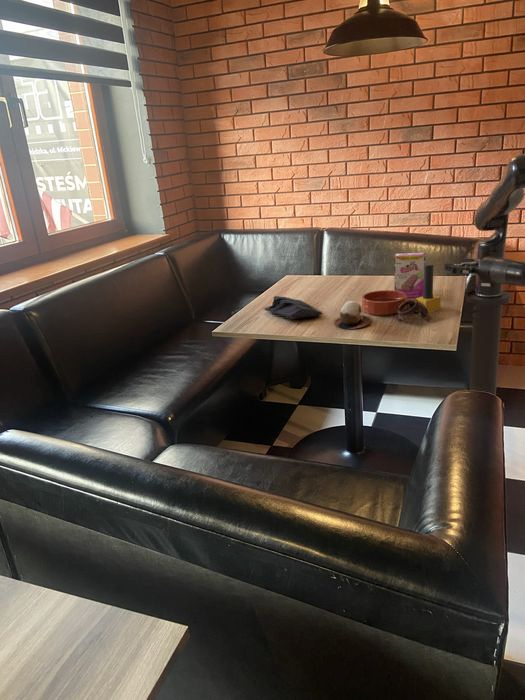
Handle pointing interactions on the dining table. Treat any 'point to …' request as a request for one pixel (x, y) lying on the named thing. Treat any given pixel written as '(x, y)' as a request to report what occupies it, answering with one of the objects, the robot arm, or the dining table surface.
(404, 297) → the terracotta ring
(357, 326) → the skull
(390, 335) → the dining table surface
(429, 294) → the sponge wand
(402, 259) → the candy bar box
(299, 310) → the folded black cloth
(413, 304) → the pottery mug
